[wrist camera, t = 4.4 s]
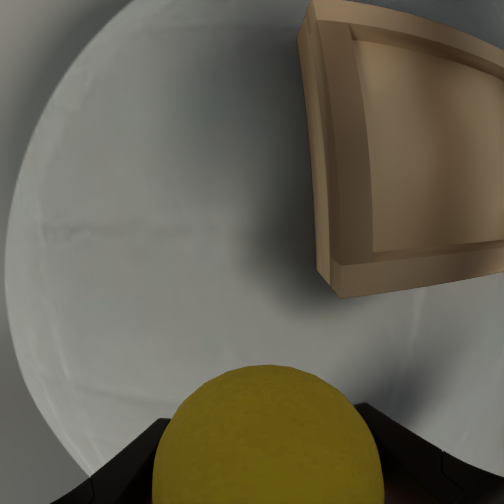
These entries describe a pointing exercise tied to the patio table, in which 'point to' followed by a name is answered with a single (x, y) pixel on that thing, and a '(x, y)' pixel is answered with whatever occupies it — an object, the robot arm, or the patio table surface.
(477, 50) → the wooden tray
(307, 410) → the lemon
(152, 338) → the patio table surface
